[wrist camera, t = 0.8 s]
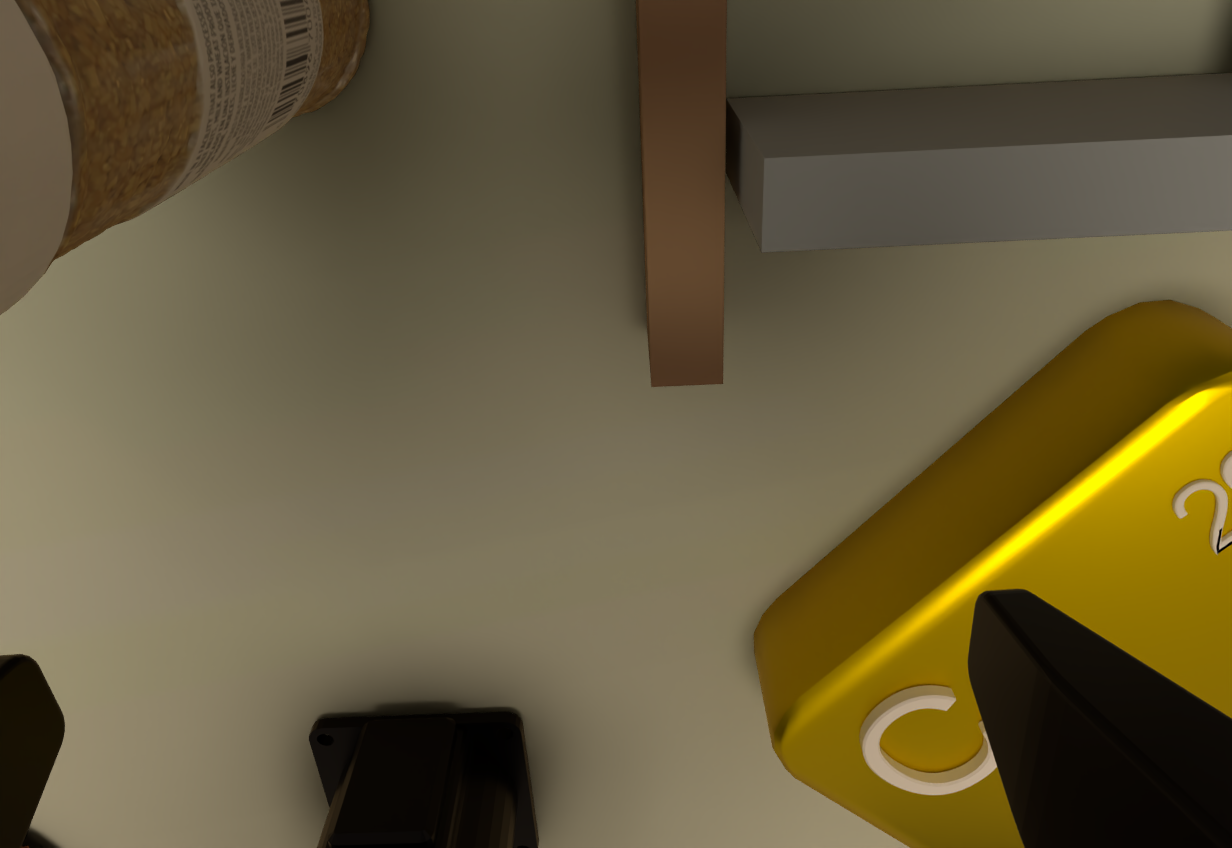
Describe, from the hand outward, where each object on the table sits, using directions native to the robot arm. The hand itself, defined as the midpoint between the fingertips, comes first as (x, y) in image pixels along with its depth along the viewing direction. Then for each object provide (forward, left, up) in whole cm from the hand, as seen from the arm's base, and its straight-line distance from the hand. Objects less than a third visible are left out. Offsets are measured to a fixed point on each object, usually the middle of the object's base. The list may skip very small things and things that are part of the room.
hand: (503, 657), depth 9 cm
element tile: (-12, -14, -14) cm, 23 cm away
